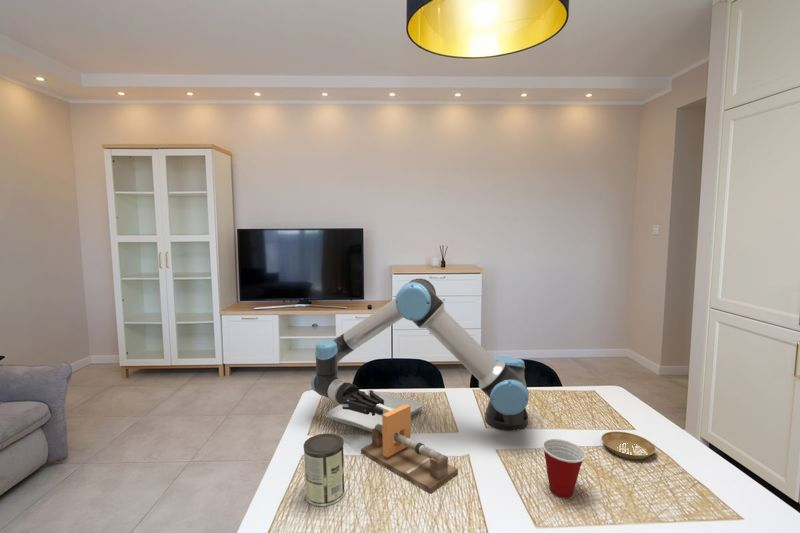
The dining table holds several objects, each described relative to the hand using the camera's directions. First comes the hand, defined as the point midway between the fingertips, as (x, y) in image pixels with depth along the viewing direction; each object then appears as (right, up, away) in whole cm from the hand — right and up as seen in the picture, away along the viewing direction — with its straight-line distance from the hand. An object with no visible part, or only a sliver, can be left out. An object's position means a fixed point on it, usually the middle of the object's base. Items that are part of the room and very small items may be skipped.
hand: (392, 414), depth 125 cm
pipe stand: (+5, -14, -2) cm, 15 cm away
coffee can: (-17, -15, -16) cm, 28 cm away
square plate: (-7, -11, +28) cm, 31 cm away
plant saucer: (+73, -13, +4) cm, 75 cm away
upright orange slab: (+1, -11, +1) cm, 11 cm away
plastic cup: (+45, -15, -15) cm, 50 cm away
